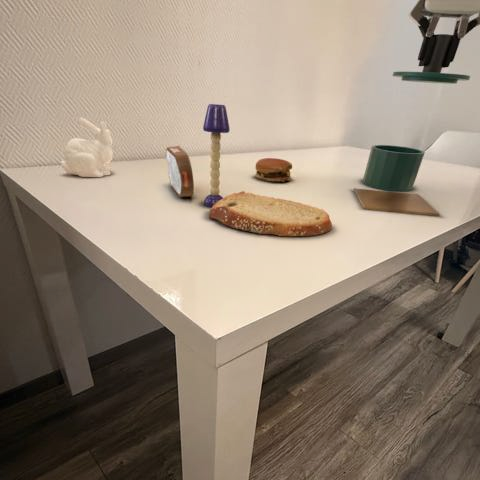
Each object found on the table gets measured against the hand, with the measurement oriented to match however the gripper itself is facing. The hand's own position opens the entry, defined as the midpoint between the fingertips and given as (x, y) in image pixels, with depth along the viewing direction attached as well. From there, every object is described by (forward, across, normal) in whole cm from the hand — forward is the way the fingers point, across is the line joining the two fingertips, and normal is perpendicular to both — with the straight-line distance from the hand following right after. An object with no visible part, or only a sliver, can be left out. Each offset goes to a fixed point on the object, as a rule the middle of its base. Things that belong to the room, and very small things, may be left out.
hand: (433, 65), depth 62 cm
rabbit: (+25, +70, +3) cm, 74 cm away
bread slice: (+25, +27, +24) cm, 43 cm away
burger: (+25, +28, -9) cm, 38 cm away
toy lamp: (+25, +38, +17) cm, 48 cm away
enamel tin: (+24, -2, -14) cm, 28 cm away
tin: (+25, +47, +11) cm, 54 cm away
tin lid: (+2, 0, 0) cm, 2 cm away
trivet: (+24, 0, +2) cm, 25 cm away
